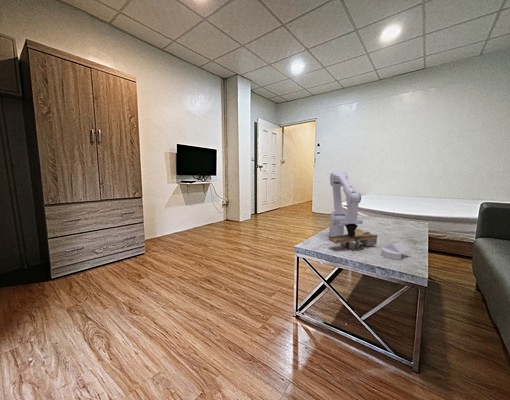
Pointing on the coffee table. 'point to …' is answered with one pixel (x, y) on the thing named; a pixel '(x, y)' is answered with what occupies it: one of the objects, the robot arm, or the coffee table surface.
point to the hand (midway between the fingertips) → (350, 236)
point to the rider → (358, 233)
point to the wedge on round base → (394, 251)
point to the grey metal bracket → (353, 245)
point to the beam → (366, 239)
